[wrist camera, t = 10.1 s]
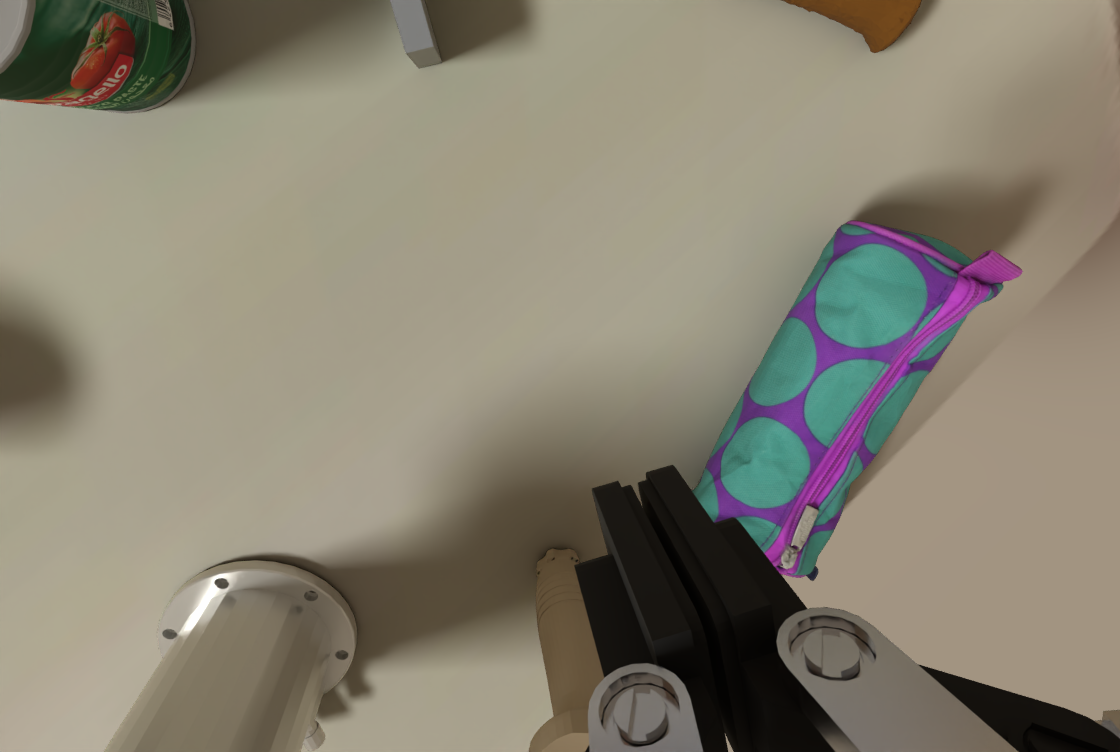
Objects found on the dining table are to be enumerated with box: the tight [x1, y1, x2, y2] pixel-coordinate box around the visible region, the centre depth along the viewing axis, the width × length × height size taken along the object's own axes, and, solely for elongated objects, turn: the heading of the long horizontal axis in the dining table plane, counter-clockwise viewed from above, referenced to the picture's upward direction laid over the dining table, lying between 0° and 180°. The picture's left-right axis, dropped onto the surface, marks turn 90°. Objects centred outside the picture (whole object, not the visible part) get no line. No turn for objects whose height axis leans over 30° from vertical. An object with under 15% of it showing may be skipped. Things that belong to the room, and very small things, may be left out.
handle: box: [529, 548, 604, 752], centre depth 34 cm, size 5×6×15 cm
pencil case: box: [692, 221, 1023, 581], centre depth 34 cm, size 21×9×10 cm, turn 158°
